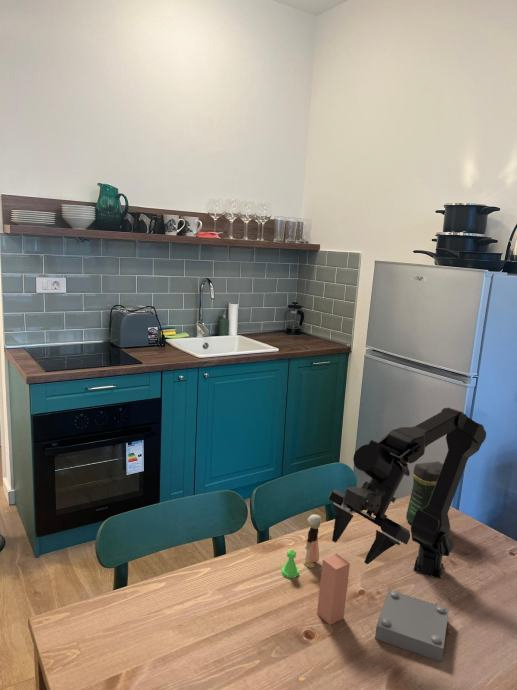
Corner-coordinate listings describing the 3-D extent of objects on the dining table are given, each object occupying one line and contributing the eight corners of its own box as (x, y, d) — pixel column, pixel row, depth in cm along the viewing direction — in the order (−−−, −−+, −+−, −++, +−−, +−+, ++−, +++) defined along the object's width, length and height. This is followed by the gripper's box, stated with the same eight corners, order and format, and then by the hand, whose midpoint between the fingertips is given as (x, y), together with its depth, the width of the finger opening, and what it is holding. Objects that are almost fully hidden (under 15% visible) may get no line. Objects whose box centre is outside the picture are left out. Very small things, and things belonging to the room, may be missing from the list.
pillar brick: (330, 607, 118) (336, 553, 115) (343, 618, 115) (349, 563, 112) (317, 613, 115) (322, 559, 113) (329, 625, 112) (336, 569, 110)
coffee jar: (419, 532, 151) (428, 471, 148) (401, 518, 158) (409, 459, 155) (445, 527, 155) (454, 467, 152) (427, 513, 162) (435, 456, 159)
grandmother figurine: (317, 571, 130) (322, 523, 128) (301, 568, 131) (306, 521, 128) (320, 554, 137) (324, 508, 135) (305, 551, 138) (309, 506, 136)
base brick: (386, 601, 121) (388, 587, 120) (447, 620, 116) (449, 606, 115) (374, 638, 109) (376, 623, 109) (441, 661, 104) (443, 646, 104)
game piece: (296, 580, 126) (298, 557, 125) (278, 575, 128) (280, 552, 126) (300, 569, 130) (302, 547, 129) (283, 565, 132) (285, 543, 130)
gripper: (331, 457, 118) (297, 521, 115) (400, 491, 103) (363, 566, 101) (357, 473, 125) (326, 535, 122) (425, 508, 110) (391, 579, 108)
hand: (349, 552), depth 113 cm, fingers open, 9 cm apart
